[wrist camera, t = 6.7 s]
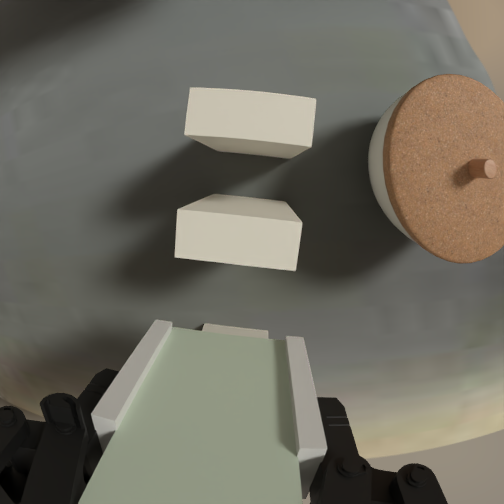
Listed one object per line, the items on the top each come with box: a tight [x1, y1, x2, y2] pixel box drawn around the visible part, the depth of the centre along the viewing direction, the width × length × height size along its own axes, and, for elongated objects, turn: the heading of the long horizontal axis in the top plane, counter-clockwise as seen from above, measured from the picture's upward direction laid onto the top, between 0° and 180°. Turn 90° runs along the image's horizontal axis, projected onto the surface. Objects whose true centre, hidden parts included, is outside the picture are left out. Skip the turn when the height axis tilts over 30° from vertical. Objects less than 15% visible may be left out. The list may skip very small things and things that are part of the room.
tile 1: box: [184, 88, 316, 159], centre depth 17 cm, size 2×5×10 cm, turn 84°
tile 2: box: [175, 194, 302, 271], centre depth 18 cm, size 2×5×10 cm, turn 84°
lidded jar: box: [368, 74, 504, 263], centre depth 17 cm, size 11×11×9 cm
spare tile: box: [78, 327, 303, 504], centre depth 9 cm, size 2×5×10 cm, turn 84°
